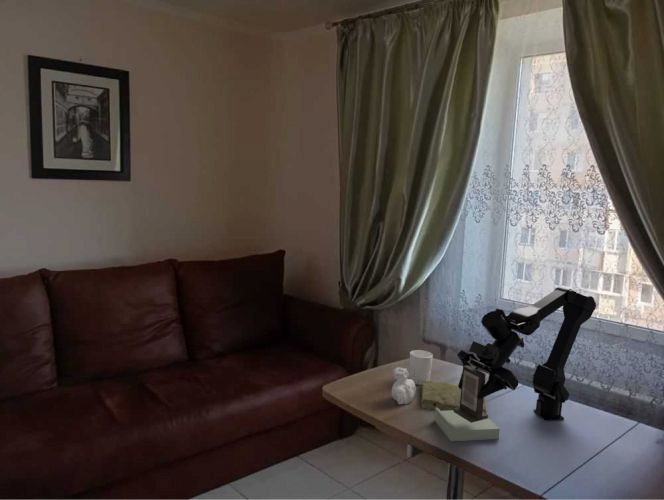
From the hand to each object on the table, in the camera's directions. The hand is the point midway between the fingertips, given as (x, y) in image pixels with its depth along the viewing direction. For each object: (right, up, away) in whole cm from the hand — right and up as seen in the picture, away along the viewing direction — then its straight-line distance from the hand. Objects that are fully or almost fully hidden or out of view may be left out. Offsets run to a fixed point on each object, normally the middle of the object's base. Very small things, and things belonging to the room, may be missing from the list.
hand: (468, 392), depth 143 cm
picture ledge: (+1, -12, +6) cm, 14 cm away
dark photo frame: (+1, -7, +2) cm, 7 cm away
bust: (-15, -9, +25) cm, 30 cm away
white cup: (-7, -7, +40) cm, 41 cm away
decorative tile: (+1, -10, +25) cm, 27 cm away
